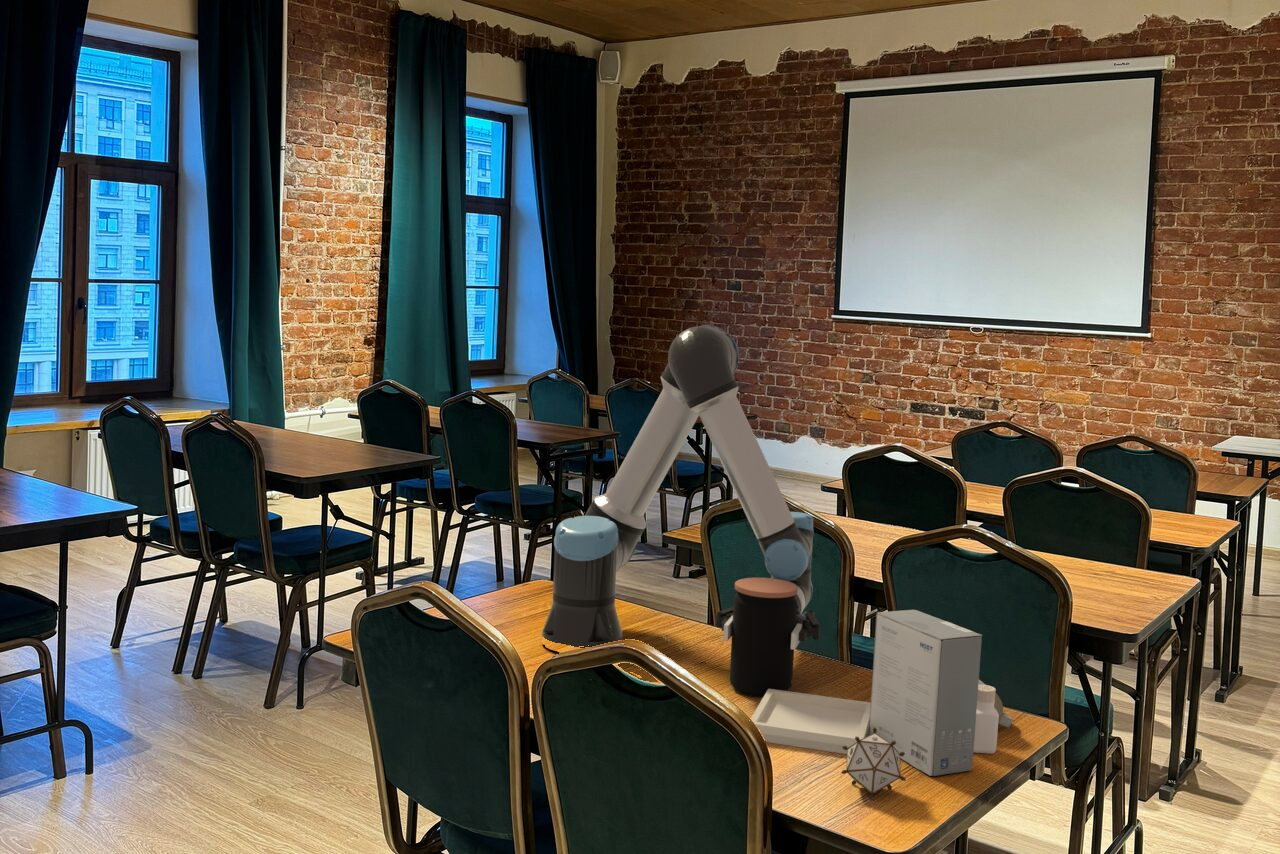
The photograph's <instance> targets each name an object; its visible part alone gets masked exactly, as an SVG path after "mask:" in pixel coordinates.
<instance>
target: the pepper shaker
mask: <svg viewBox="0 0 1280 854" xmlns="http://www.w3.org/2000/svg"><path fill="white" fill-rule="evenodd" d="M996 691H997V689H996V688H995V687H994V686H991V685H988V684H985V685H978V697H977V710H976V725H975V738H974V751H973V753H977V754H991V755H992V754H995V753H996V751H997V743H998V729H999V724H998V720H999V714H998V712H997V710H996V709H995V708H994V702H995V693H996ZM996 694H997V693H996Z"/></svg>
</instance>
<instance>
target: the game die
mask: <svg viewBox="0 0 1280 854" xmlns="http://www.w3.org/2000/svg"><path fill="white" fill-rule="evenodd" d="M876 732H877V729H876V728H875V727H874V728H873V733H872V734H871V735H869V734H868V736H867V737H865V738H863V739H861V740H859V737H856V736H855V740H856V741H857V742H856V743H854V744H853V745H852V746H850V747H849V748H847V746H842V747H843V749H844V750H847V754H846V767H845V768H846V769H842V771H841V772H840V773H841V774H843V775H846V774H848V775H849V777H851V778H852V781H851V785H852V786H853V785H856V784H858V785H859V786H861V787H862V788H863V789H864V790H866V791H867V792H868V793H870V795H869V798H870V800H871V801H873V800H874V798H875V795H874V794H876V793H878V792H880V791H882V790H883V789H884V788H886V787H887V789H890V790H892V785H891V784H892V783H894V782H896V781H897V780H901V781H902V782H904V781H907V779H906V778H905V776H903V775H902V776H901V758H900V756H904V754H905V753H904V752H901V753H900V754H899V752H898V751H897V750H896V749H895V747H894V746H893V745H895V744H896V741H892V742H891V743H890V742H888V741H887V740H885V739H884V738H882V737H881V736H879V735H878V734H876Z"/></svg>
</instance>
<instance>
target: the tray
mask: <svg viewBox="0 0 1280 854" xmlns="http://www.w3.org/2000/svg"><path fill="white" fill-rule="evenodd" d="M870 707H871V701H870V702H868V701H862V700H861V701H860V700H852V699H845V698H840V697H833V696H832V697H831V696H824V695H818V694H811V693H803V692H802V693H801V692H797V691H789V690H788V691H782V690H775V689H768V690H767V692H766V694H765V695H764V697H763V698H761V700H760V702H759V704H758V705H757V707H756V708H755V711H754V712H753V713H752V715H751V717H750V719H752V721H753V722H754V723H755V725H756V726H757V728H758V729H759V730H760V732H761V734H762V735H763V737H764V739H765V741H766V742H765V743H770V744H776V745H777V744H778V745H783V746H790V747H797V748H804V749H810V750H815V751H816V750H818V751H824V752H831V753H837V754H843V755H847V750H844V749H843V747H842V746H847V748H849V747H850V746H852V745H853V744H854V743H856V742H857V741H856V740H855V736H856V737H859V740H861V739H863V738H865V737H867V736H869V722H870Z"/></svg>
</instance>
